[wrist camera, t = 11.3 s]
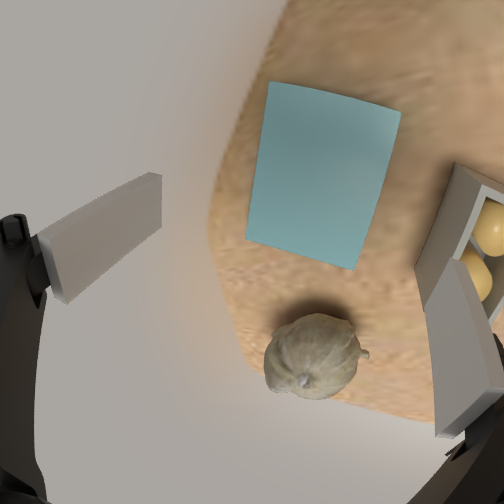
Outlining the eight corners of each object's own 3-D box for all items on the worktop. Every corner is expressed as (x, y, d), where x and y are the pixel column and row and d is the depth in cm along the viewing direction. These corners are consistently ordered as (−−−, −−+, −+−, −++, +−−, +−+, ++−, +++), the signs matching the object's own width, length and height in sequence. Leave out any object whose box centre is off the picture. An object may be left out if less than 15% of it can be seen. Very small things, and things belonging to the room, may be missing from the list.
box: (454, 162, 19) (481, 183, 14) (514, 190, 18) (548, 218, 13) (414, 269, 24) (423, 311, 20) (470, 287, 23) (487, 330, 18)
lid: (278, 82, 21) (269, 80, 19) (396, 110, 19) (401, 112, 17) (255, 225, 28) (245, 239, 25) (354, 254, 26) (353, 270, 24)
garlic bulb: (289, 323, 35) (234, 384, 29) (306, 272, 29) (240, 341, 23) (358, 366, 31) (312, 437, 25) (391, 322, 26) (344, 409, 19)
